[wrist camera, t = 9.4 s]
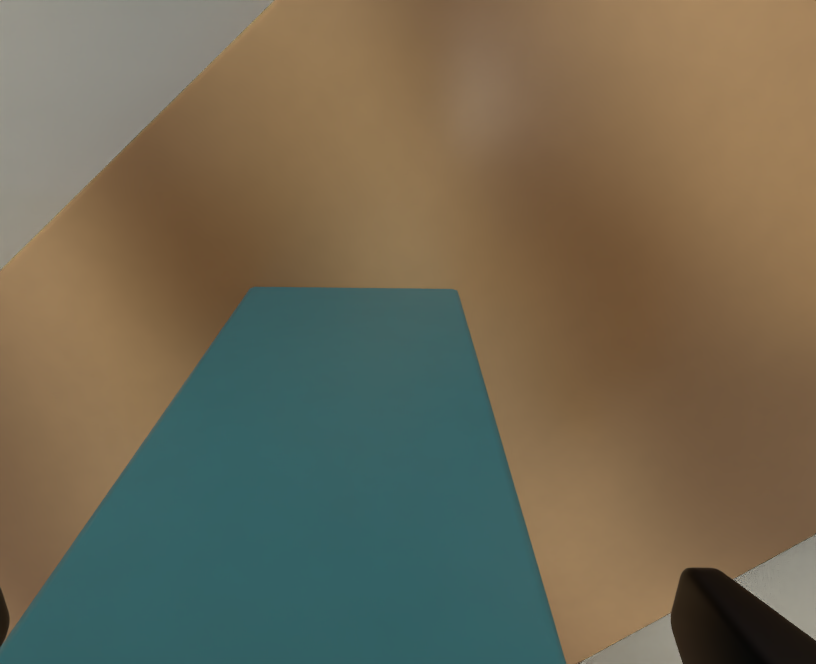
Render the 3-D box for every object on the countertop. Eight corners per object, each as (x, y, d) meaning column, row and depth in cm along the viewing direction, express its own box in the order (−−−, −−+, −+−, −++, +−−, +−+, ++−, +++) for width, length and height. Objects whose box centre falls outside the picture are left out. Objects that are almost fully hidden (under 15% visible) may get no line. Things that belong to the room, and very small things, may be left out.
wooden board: (704, -409, 6) (733, -455, 6) (1042, 375, 10) (1080, 393, 10) (-272, 547, 11) (-307, 571, 10) (210, 839, 15) (202, 868, 14)
